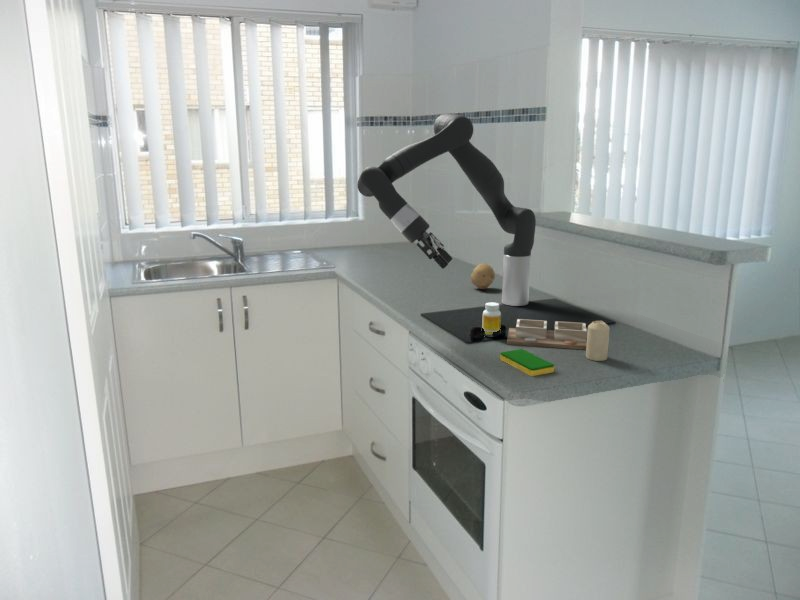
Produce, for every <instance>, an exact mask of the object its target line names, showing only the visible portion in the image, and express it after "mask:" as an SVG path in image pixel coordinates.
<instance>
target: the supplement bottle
mask: <svg viewBox="0 0 800 600" xmlns="http://www.w3.org/2000/svg"><path fill="white" fill-rule="evenodd" d="M484 307H485V309H484V310H483V312H482V320H481V321H482V322H481V323H482V325H481V329H482V328H483V329H484V331H485V334H486V335H492V334H493V332H497V331H499V330H500V331H501V329H500V328H501V327H502V326H501V325H502V323H501V321H502V312H501V311H500V303H498V302H493V301H491V302H486V303H485V305H484Z"/></svg>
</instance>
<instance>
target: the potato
mask: <svg viewBox="0 0 800 600" xmlns="http://www.w3.org/2000/svg"><path fill="white" fill-rule="evenodd" d="M495 275H496V273H495V271H494V269H493V267H492V266H491V265H490V264H488V263H480V264H478V265H477V266H475V267H474V268H473V270H472V272H471V275H470V279H469V280H470V282H471V283H472V284H473V286H475V287H477V288H478V289H479V290H485V289H487V288H489V287H490V286H491V285H492V284H493V282H494V281H495V277H496V276H495Z"/></svg>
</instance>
